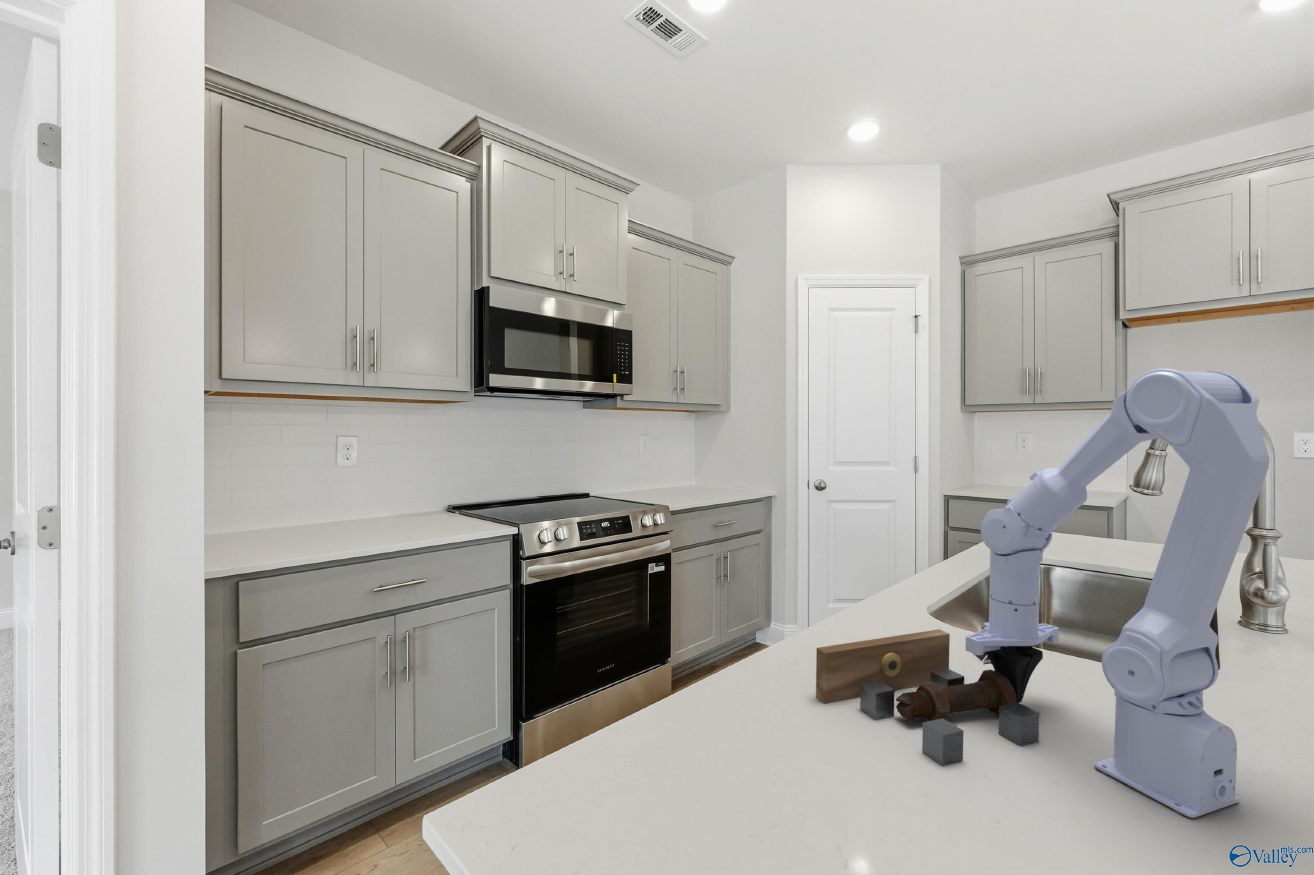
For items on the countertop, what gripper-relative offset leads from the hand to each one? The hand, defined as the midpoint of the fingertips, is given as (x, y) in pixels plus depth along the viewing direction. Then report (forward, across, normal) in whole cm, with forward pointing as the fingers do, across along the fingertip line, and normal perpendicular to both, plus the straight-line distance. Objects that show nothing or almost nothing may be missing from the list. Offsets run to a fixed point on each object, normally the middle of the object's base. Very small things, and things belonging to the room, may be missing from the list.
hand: (1011, 699), depth 81 cm
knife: (+2, -20, -19) cm, 28 cm away
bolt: (+2, +9, -1) cm, 9 cm away
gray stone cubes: (+1, +12, 0) cm, 12 cm away
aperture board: (+1, +12, -11) cm, 16 cm away
